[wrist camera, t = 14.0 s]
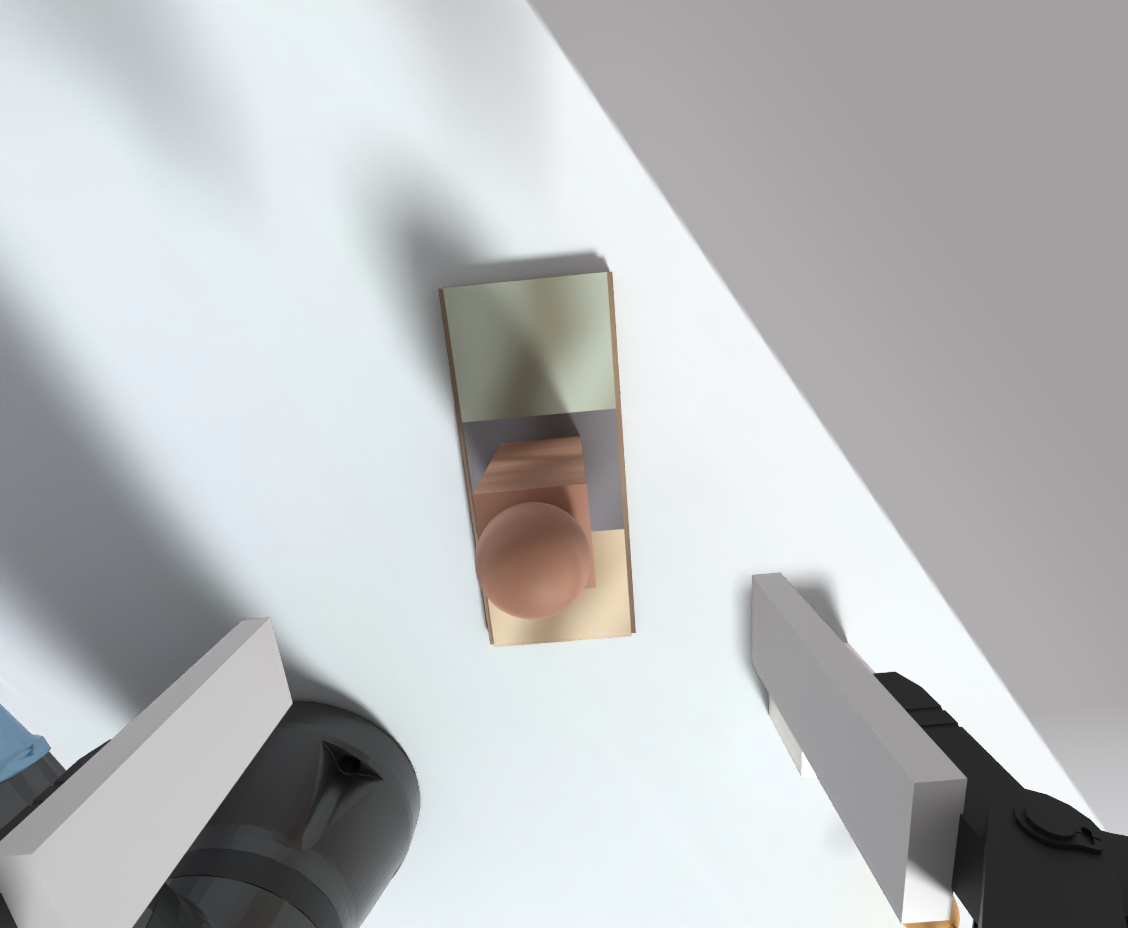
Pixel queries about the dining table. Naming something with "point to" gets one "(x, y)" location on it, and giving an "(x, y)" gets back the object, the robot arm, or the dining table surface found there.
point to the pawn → (534, 528)
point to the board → (547, 421)
